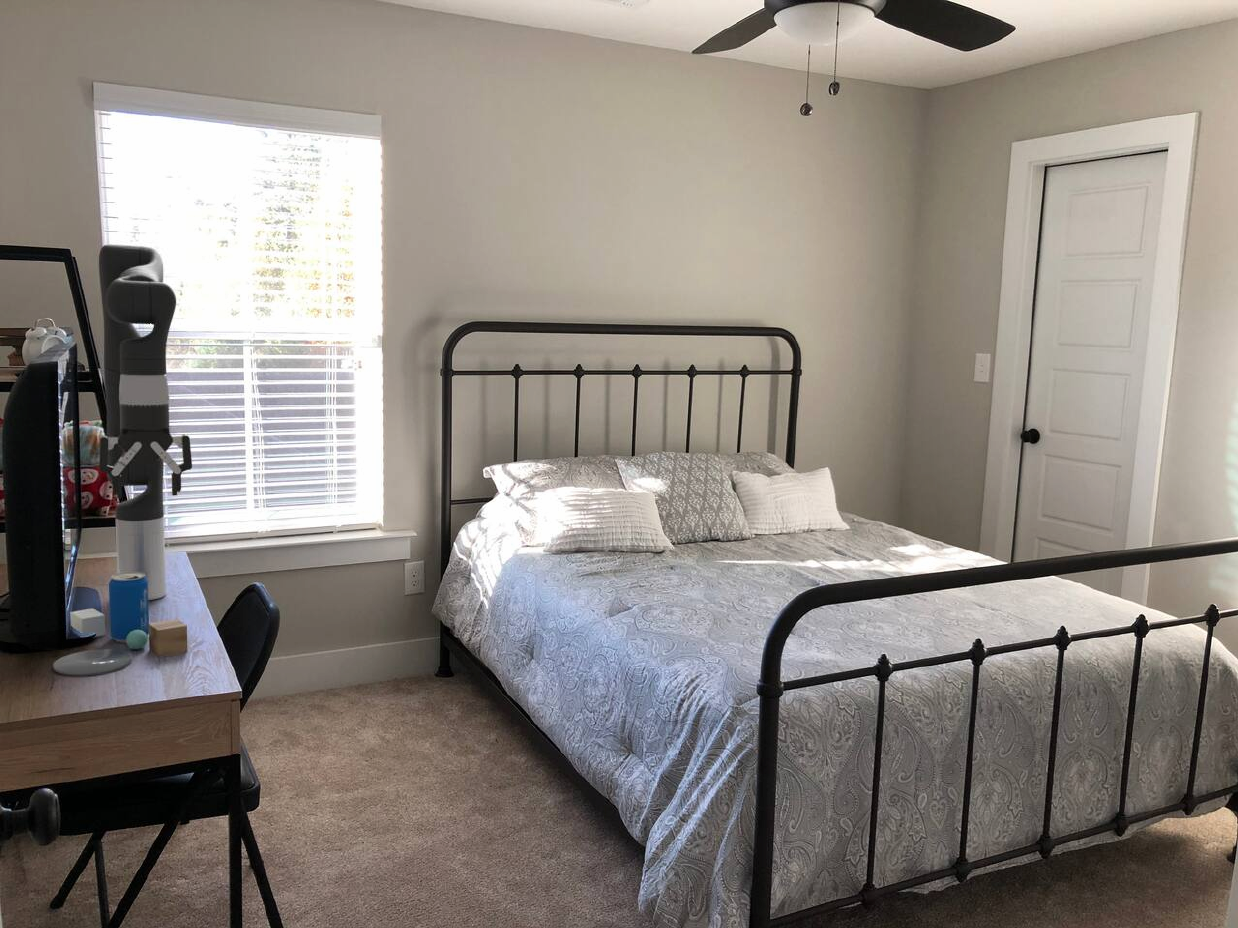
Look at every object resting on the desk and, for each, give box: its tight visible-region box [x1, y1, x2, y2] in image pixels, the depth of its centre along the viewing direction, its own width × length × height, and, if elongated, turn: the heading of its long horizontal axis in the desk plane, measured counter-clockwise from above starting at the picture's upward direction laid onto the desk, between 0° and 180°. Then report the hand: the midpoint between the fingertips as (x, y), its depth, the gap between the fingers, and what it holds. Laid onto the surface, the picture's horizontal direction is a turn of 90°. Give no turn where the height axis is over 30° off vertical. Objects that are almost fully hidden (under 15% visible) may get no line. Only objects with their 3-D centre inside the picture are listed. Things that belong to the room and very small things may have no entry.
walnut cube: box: [148, 618, 188, 658], centre depth 182 cm, size 5×5×5 cm
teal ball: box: [126, 630, 149, 650], centre depth 182 cm, size 4×4×4 cm
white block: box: [69, 608, 106, 638], centre depth 190 cm, size 6×4×4 cm, turn 47°
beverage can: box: [108, 572, 150, 644], centre depth 187 cm, size 6×6×12 cm
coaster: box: [53, 648, 133, 677], centre depth 174 cm, size 12×12×1 cm
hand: (147, 496), depth 172 cm, fingers open, 8 cm apart
